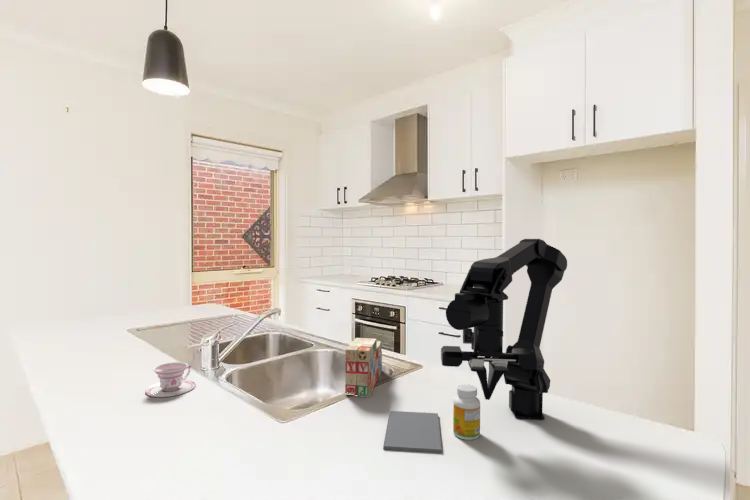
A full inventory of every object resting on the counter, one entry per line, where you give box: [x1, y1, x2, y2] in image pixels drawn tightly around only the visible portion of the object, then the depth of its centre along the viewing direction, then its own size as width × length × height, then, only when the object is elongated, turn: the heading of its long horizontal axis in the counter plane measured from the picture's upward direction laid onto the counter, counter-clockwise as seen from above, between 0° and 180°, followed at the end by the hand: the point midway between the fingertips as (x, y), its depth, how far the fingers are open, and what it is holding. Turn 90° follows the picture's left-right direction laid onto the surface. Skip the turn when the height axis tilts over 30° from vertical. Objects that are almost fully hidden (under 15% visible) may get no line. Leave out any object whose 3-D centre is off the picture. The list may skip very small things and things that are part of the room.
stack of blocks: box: [344, 337, 383, 398], centre depth 114 cm, size 21×6×12 cm, turn 170°
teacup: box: [145, 361, 197, 398], centre depth 108 cm, size 12×12×6 cm
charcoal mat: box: [382, 410, 443, 454], centre depth 85 cm, size 11×16×1 cm
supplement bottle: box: [452, 383, 481, 441], centre depth 83 cm, size 5×5×10 cm
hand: (487, 398), depth 83 cm, fingers closed
